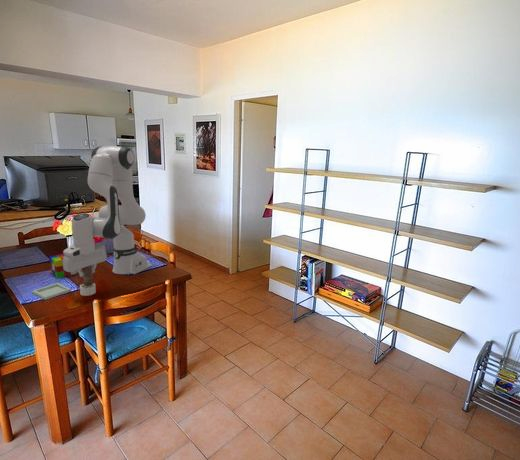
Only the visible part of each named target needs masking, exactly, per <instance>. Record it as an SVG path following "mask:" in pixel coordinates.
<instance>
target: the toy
mask: <svg viewBox="0 0 520 460" xmlns="http://www.w3.org/2000/svg"><path fill="white" fill-rule="evenodd" d="M64 256H65V254H64V253H61V254H56V255H55V254H54V255H50V256H49V257H48V259H49V267H50V273H51V275H53V276H54V277H55V276H56V277H55V278H57V279H61V278H64V277H69V276H72V275H76V274H78V271H77V270H75V271H71V272H67V271H65V270H64V269H63V257H64ZM60 277H61V278H60Z"/></svg>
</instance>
